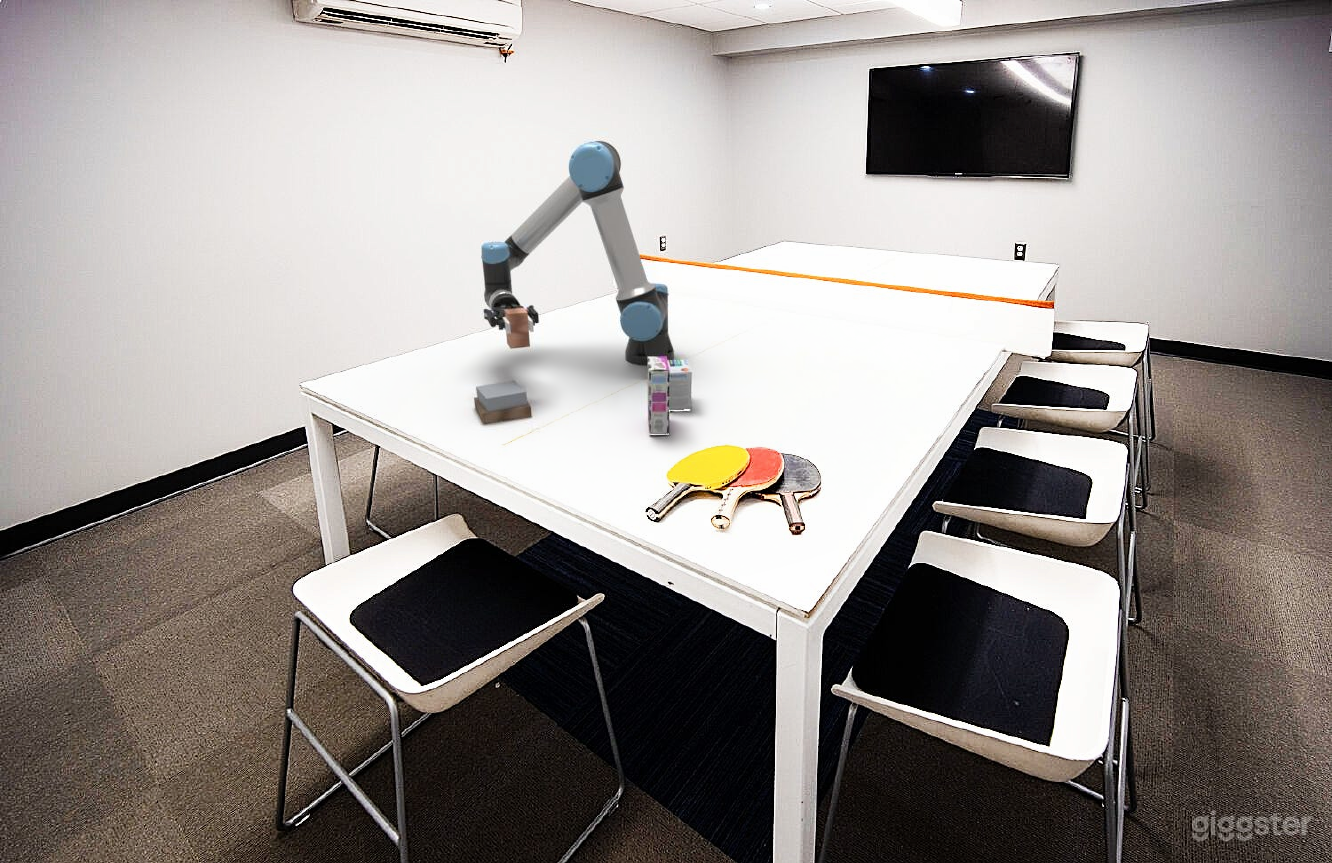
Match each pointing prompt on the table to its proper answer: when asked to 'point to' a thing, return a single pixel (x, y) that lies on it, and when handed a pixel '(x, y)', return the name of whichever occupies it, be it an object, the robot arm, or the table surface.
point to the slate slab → (501, 396)
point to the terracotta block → (517, 328)
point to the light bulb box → (680, 384)
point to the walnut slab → (502, 413)
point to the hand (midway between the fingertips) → (520, 327)
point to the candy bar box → (658, 395)
